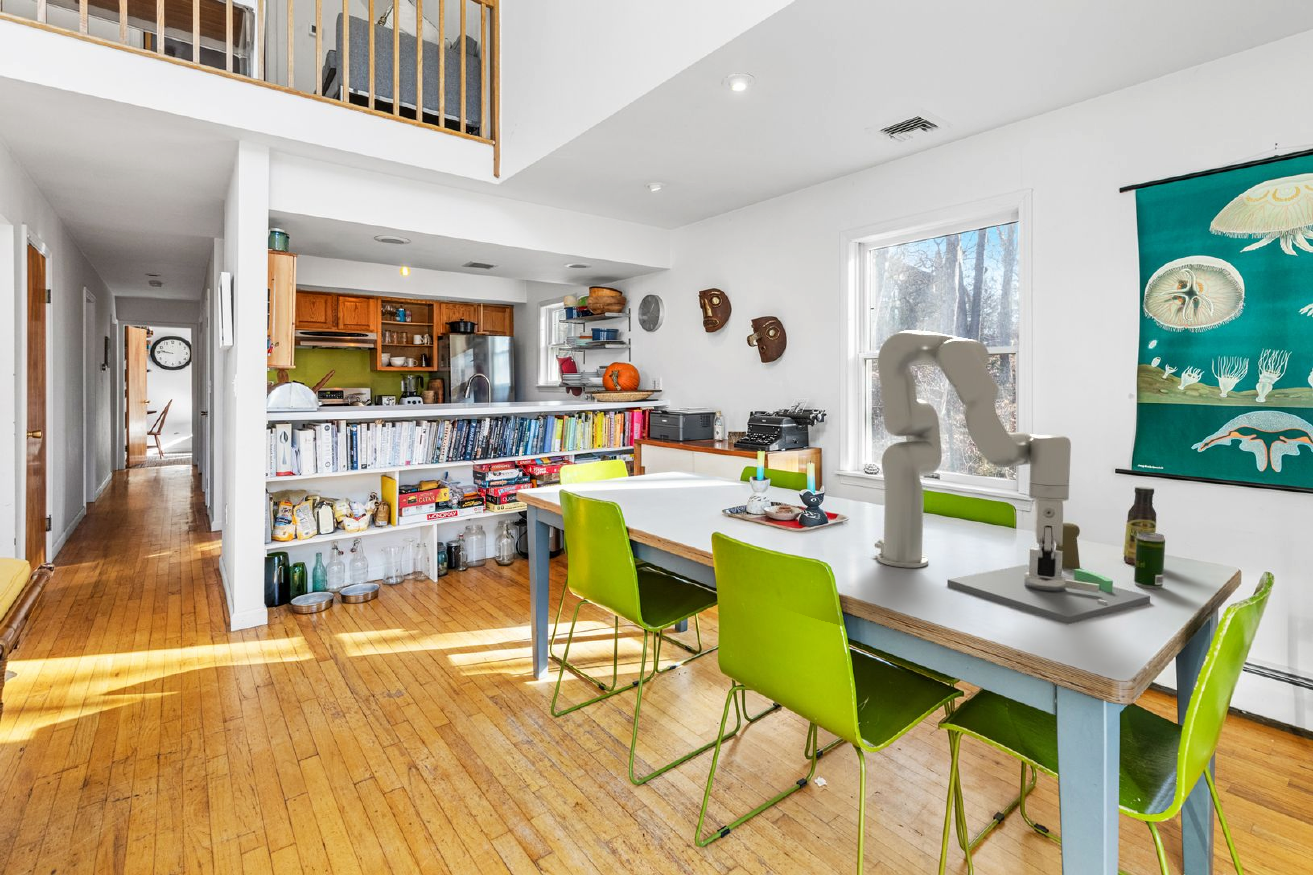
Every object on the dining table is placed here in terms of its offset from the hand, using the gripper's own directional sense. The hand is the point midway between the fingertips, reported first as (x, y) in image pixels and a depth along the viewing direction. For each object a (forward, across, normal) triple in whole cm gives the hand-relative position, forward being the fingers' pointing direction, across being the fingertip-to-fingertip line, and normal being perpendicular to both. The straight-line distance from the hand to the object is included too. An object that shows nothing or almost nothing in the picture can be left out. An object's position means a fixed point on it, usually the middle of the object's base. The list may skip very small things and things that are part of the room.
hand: (1045, 573), depth 147 cm
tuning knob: (+3, 0, -3) cm, 4 cm away
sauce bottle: (+5, +41, -22) cm, 47 cm away
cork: (+5, +29, -6) cm, 30 cm away
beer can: (+5, +18, -21) cm, 28 cm away
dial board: (+5, 0, 0) cm, 5 cm away
